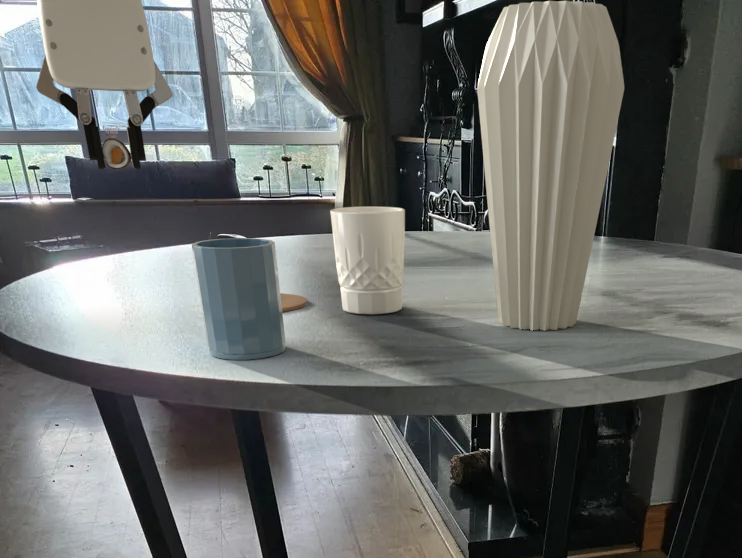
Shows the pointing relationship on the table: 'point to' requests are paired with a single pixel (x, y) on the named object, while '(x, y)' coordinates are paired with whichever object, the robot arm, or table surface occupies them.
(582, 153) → the vase
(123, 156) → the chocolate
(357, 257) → the white cup
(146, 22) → the robot arm
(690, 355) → the table surface
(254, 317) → the tumbler
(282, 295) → the cork coaster
